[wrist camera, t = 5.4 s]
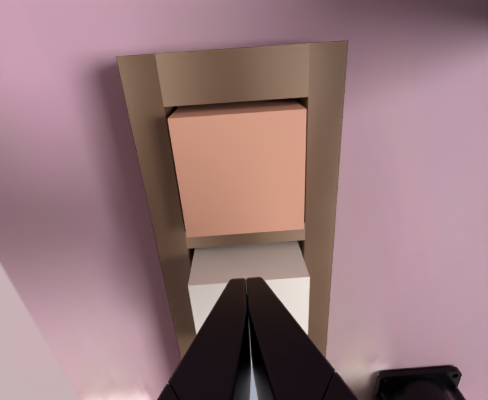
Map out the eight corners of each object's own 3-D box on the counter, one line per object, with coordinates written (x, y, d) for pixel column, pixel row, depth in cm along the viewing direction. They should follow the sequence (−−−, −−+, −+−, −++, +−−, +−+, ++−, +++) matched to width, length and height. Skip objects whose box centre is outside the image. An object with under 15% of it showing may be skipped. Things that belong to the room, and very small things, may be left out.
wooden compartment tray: (327, 42, 15) (348, 40, 12) (311, 377, 25) (321, 416, 22) (137, 55, 15) (116, 56, 12) (199, 385, 25) (195, 426, 22)
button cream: (295, 235, 17) (309, 276, 14) (294, 310, 19) (306, 360, 16) (196, 242, 17) (187, 285, 14) (207, 316, 19) (202, 368, 16)
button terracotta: (291, 97, 15) (306, 108, 12) (290, 197, 18) (303, 229, 14) (180, 105, 15) (167, 118, 12) (195, 204, 18) (187, 237, 14)
